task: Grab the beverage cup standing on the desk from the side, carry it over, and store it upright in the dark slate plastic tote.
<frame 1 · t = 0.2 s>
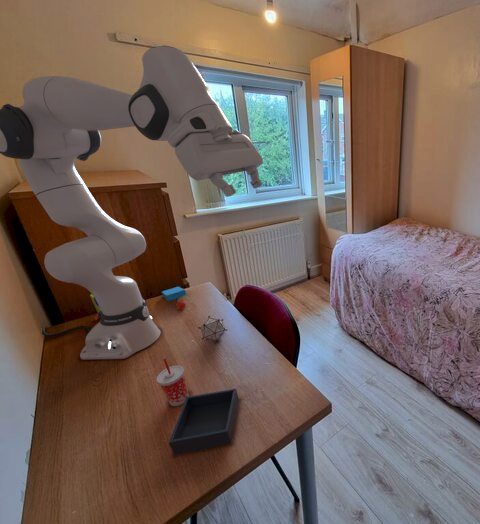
hand: (245, 190, 63), 54 cm above the table, tool tilted 30°, fingers open, 8 cm apart
tote: (209, 424, 71), on the table
beverage cup: (179, 399, 78), on the table
game die: (215, 338, 101), on the table
puzzle toy: (119, 314, 116), on the table
lever: (177, 301, 124), on the table
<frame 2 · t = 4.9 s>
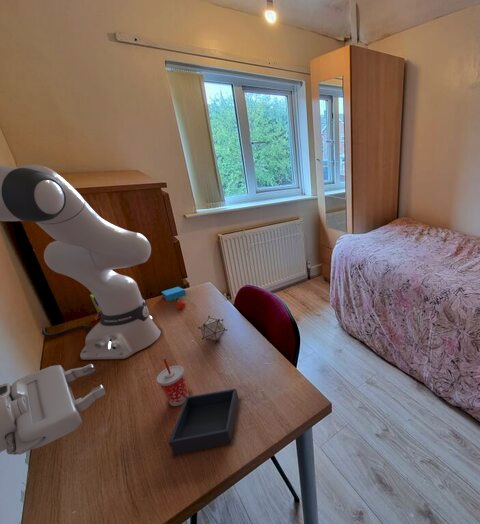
hand: (99, 377, 62), 18 cm above the table, tool horizontal, fingers open, 8 cm apart
nothing on the table moved.
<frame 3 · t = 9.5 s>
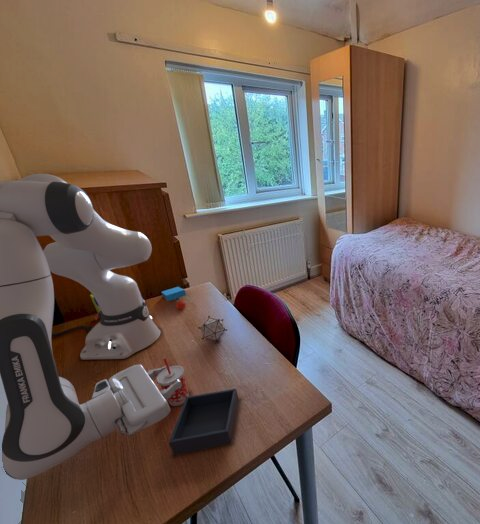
hand: (174, 374, 75), 8 cm above the table, tool horizontal, fingers closed on beverage cup, 6 cm apart
beverage cup: (179, 399, 78), on the table, touching gripper
everything else where it was.
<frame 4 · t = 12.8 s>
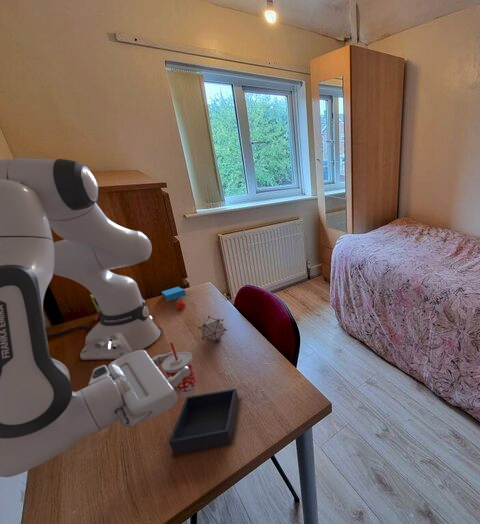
hand: (182, 361, 67), 17 cm above the table, tool horizontal, fingers closed on beverage cup, 6 cm apart
beverage cup: (187, 389, 70), point 9 cm above the table, touching gripper
everything else where it was.
when the fingers open (9 cm above the table, at t = 16.4 s): beverage cup stays where it is, resting on tote.
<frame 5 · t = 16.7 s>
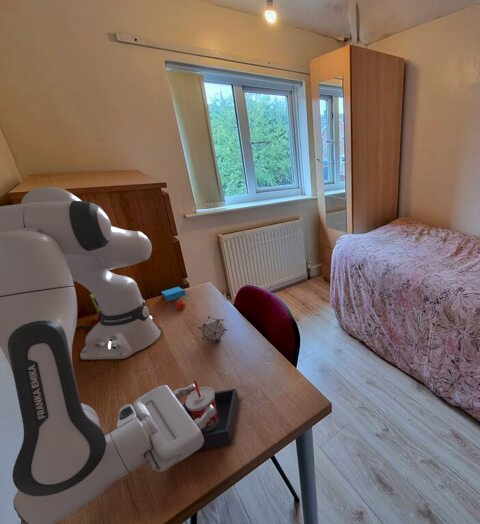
hand: (205, 397, 68), 9 cm above the table, tool horizontal, fingers open, 8 cm apart
beverage cup: (208, 423, 70), point 1 cm above the table, touching tote
everything else where it was.
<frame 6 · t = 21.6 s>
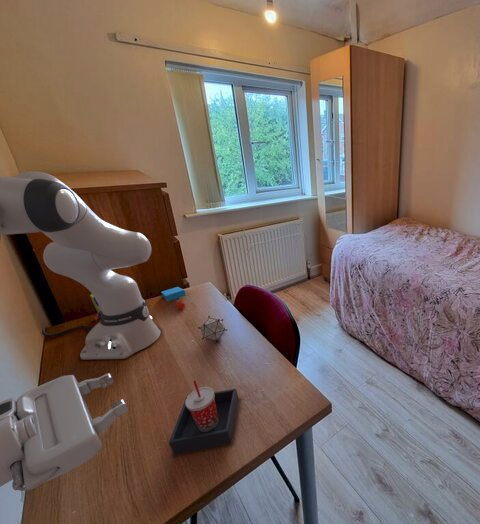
hand: (118, 390, 53), 22 cm above the table, tool horizontal, fingers open, 8 cm apart
nothing on the table moved.
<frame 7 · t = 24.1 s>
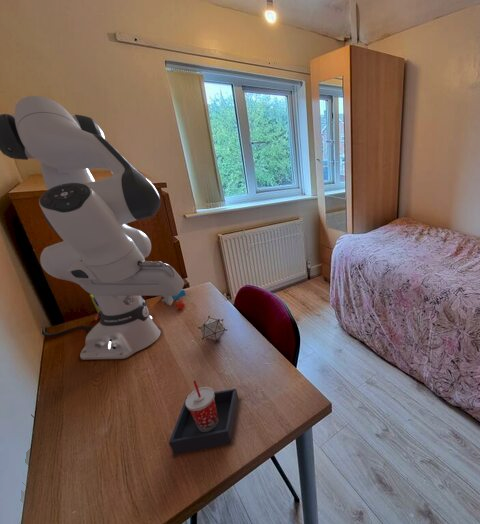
hand: (149, 302, 68), 29 cm above the table, tool tilted 20°, fingers open, 8 cm apart
nothing on the table moved.
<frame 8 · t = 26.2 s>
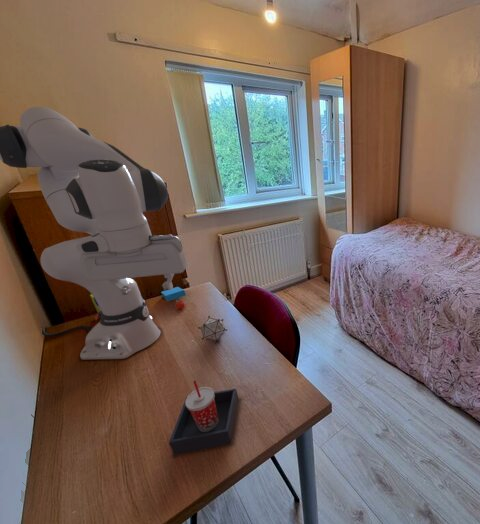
hand: (147, 291, 69), 31 cm above the table, tool pointing down, fingers open, 8 cm apart
nothing on the table moved.
at the end: beverage cup inside the target area in the tote (0.1 cm from its centre), point 0.6 cm above the tote's base; beverage cup tilted 0°; the gripper is holding nothing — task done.
